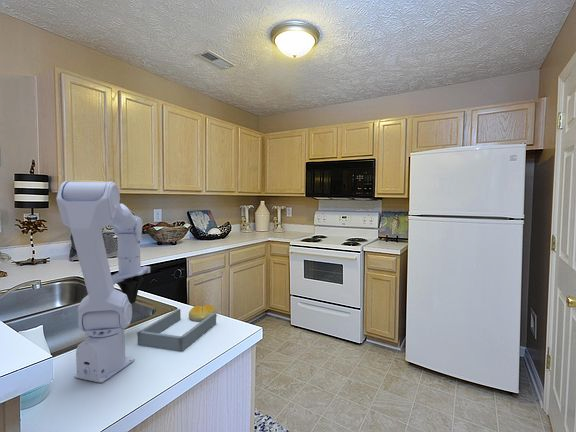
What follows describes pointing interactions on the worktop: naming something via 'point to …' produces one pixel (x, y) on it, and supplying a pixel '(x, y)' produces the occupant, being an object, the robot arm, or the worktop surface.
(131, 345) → the worktop surface
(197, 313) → the bread roll
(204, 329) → the open-side box
